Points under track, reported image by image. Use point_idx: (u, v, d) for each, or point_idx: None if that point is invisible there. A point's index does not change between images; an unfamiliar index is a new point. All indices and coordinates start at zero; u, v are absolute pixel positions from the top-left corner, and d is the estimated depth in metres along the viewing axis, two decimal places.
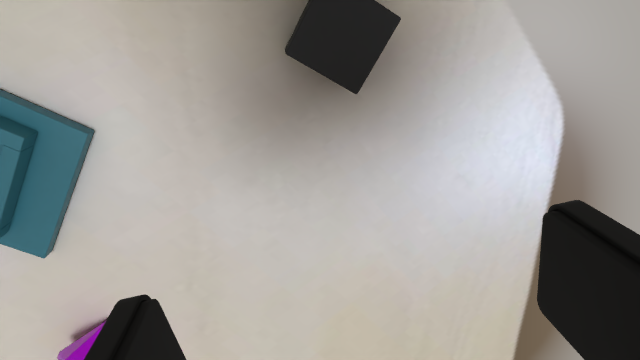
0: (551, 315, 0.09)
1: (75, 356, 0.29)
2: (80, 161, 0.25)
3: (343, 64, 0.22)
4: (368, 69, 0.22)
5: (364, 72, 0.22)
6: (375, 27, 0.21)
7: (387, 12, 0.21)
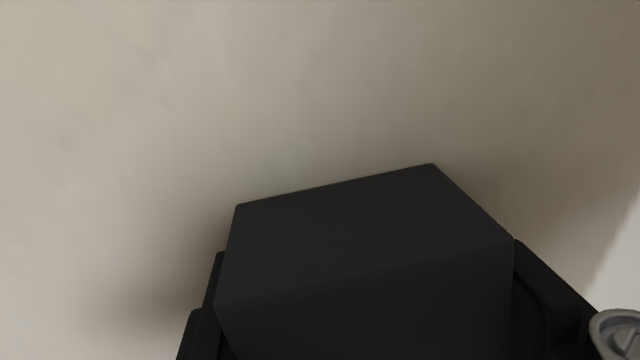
0: None
1: None
2: None
3: None
4: None
5: None
6: None
7: None
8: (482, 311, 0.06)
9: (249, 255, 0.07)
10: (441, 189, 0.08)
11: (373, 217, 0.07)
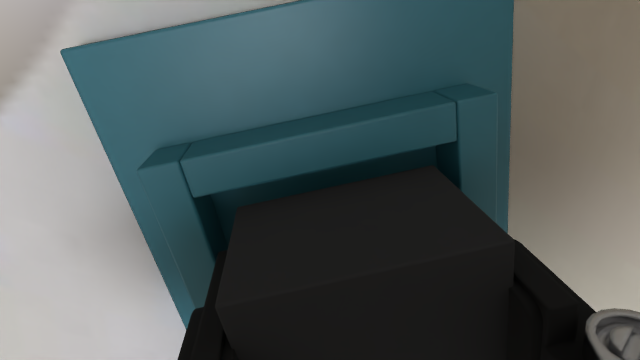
0: None
1: None
2: None
3: None
4: None
5: None
6: None
7: None
8: (483, 313, 0.07)
9: (251, 258, 0.07)
10: (442, 191, 0.08)
11: (374, 219, 0.07)
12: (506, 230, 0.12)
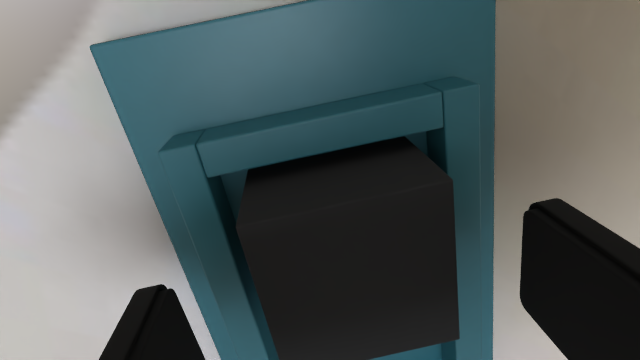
0: (532, 310, 0.09)
1: None
2: None
3: None
4: None
5: None
6: None
7: None
8: (433, 237, 0.09)
9: (261, 199, 0.09)
10: (408, 153, 0.10)
11: (354, 172, 0.10)
12: (492, 213, 0.13)
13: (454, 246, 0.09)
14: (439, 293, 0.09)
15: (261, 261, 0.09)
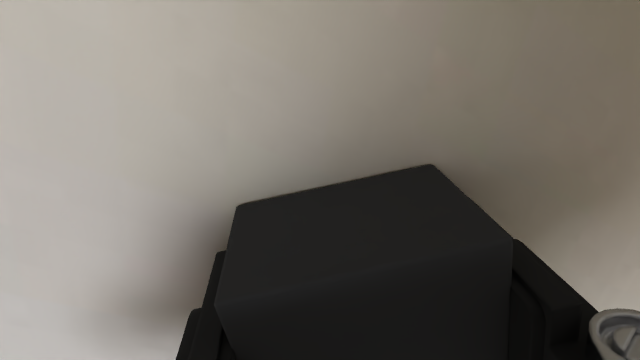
0: None
1: None
2: None
3: None
4: None
5: None
6: None
7: None
8: None
9: None
10: None
11: None
12: None
13: None
14: None
15: None
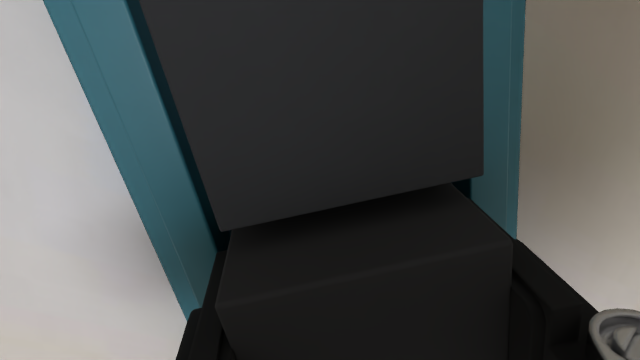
0: None
1: None
2: None
3: None
4: None
5: None
6: None
7: None
8: None
9: None
10: None
11: None
12: (522, 49, 0.09)
13: None
14: (455, 83, 0.06)
15: None
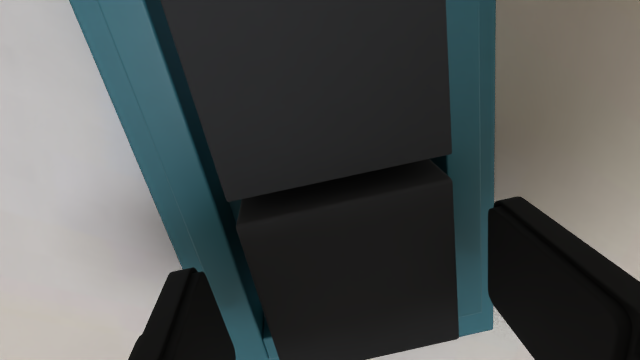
0: (498, 305, 0.09)
1: None
2: None
3: (314, 326, 0.09)
4: None
5: None
6: (417, 320, 0.10)
7: (453, 317, 0.10)
8: None
9: None
10: None
11: None
12: (494, 47, 0.11)
13: None
14: (424, 74, 0.07)
15: None
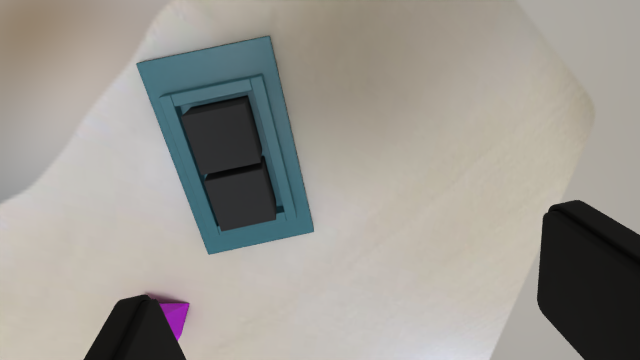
0: (551, 315, 0.09)
1: None
2: None
3: (228, 213, 0.32)
4: (238, 226, 0.32)
5: (235, 225, 0.32)
6: (260, 212, 0.32)
7: (272, 211, 0.32)
8: (242, 122, 0.29)
9: (190, 112, 0.29)
10: (242, 99, 0.30)
11: (222, 104, 0.30)
12: (289, 127, 0.33)
13: (249, 125, 0.29)
14: (249, 143, 0.29)
15: (189, 128, 0.29)
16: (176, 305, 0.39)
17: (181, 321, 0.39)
